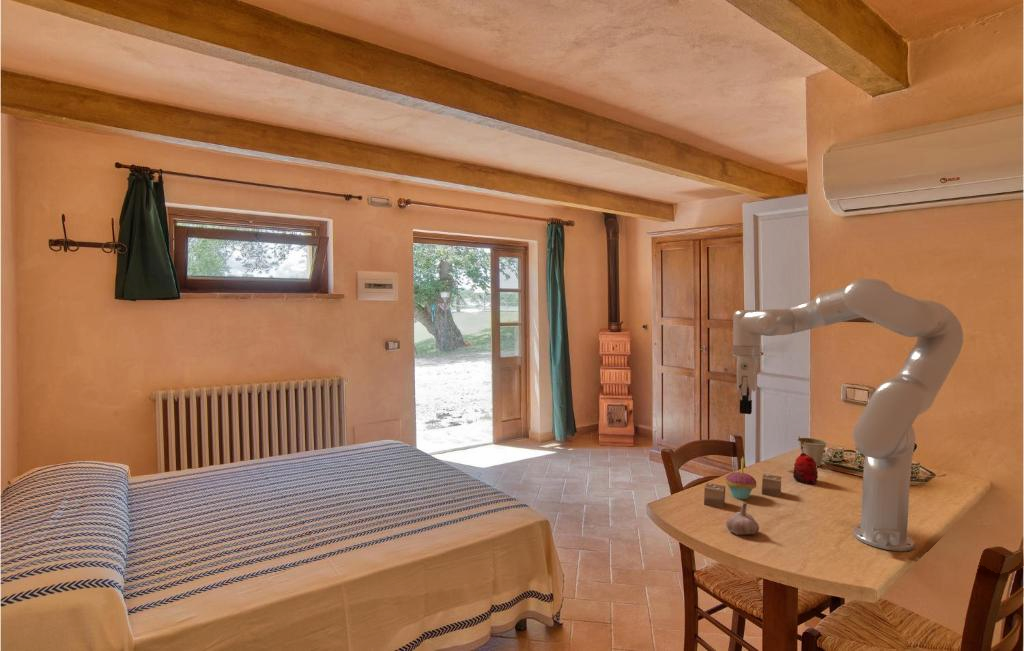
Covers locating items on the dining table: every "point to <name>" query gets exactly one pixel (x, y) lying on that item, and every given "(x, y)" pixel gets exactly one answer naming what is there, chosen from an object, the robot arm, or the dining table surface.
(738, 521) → the garlic bulb
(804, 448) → the flower pot
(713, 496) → the three dot block
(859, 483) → the dining table surface
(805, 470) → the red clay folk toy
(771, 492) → the two dot block
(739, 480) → the cupcake
